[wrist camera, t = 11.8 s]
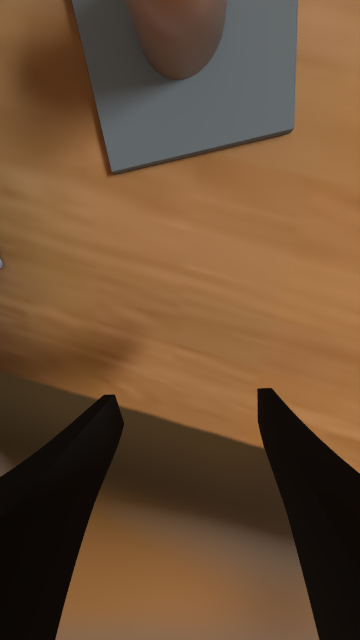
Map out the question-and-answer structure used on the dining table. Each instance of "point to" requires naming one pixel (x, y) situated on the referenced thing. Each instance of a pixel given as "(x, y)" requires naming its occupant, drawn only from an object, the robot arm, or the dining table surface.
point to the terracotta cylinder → (178, 33)
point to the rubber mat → (190, 84)
